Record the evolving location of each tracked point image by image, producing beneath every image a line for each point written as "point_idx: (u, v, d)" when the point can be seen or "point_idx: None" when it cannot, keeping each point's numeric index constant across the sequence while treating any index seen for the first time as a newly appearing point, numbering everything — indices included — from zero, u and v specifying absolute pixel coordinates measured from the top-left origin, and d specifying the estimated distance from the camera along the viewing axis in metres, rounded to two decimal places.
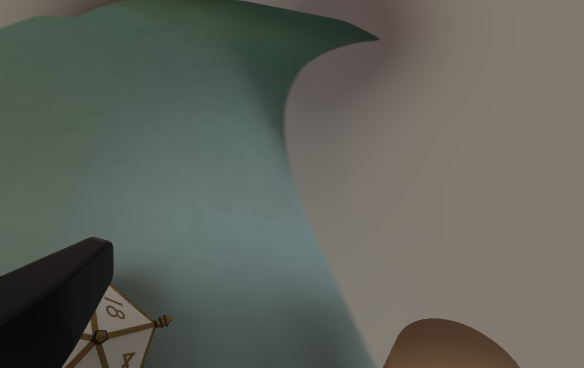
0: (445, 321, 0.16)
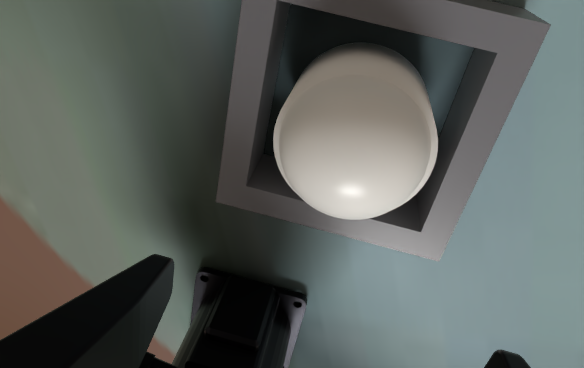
0: None
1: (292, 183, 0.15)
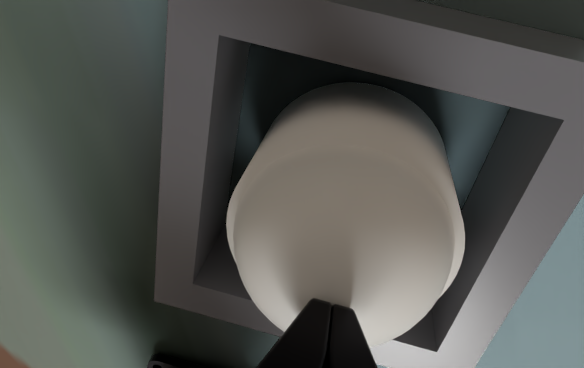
0: None
1: (251, 297, 0.11)
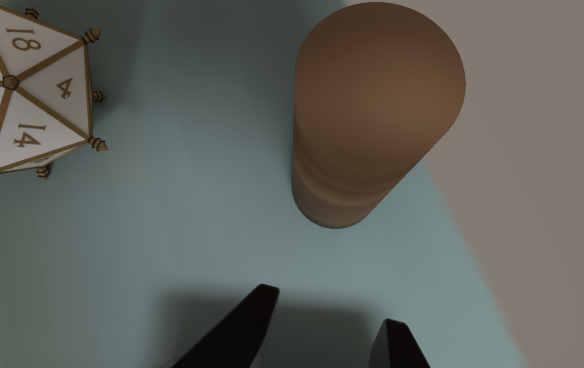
0: (371, 5, 0.12)
1: None
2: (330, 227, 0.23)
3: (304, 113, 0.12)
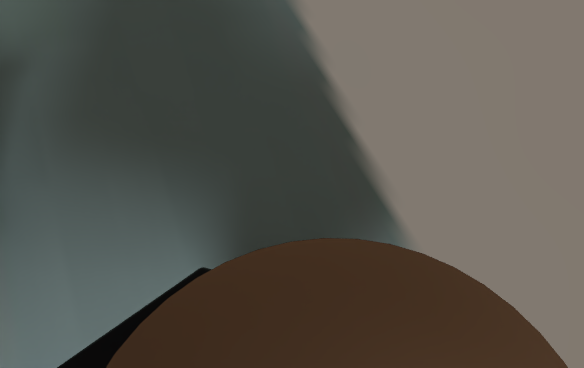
0: (317, 250, 0.04)
1: None
2: None
3: None
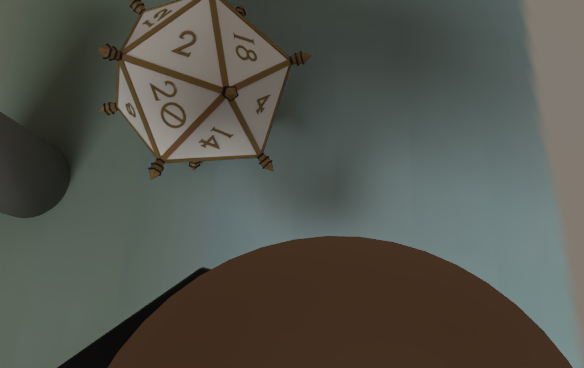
0: (320, 248, 0.04)
1: None
2: None
3: None
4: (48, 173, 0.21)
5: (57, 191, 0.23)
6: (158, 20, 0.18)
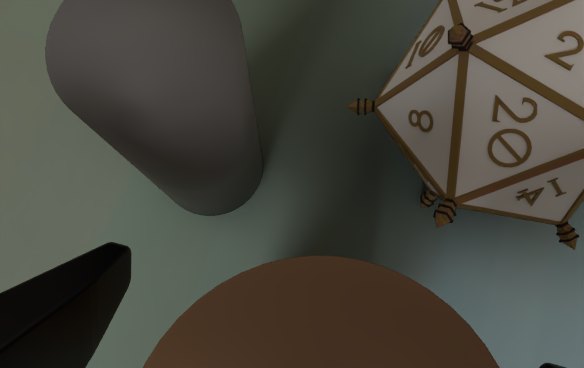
0: (307, 264, 0.05)
1: None
2: None
3: None
4: (255, 170, 0.16)
5: (249, 192, 0.17)
6: (513, 6, 0.12)
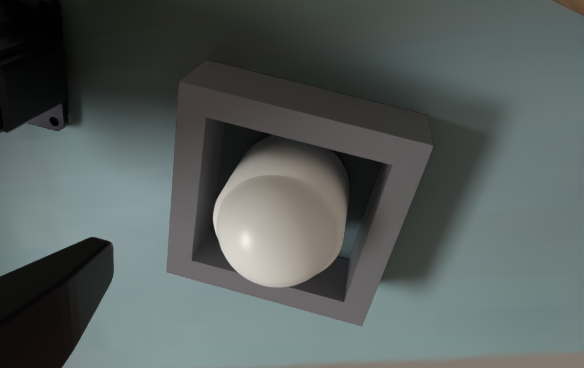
0: None
1: (247, 205, 0.17)
2: None
3: None
4: None
5: None
6: None
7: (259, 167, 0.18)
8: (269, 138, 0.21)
